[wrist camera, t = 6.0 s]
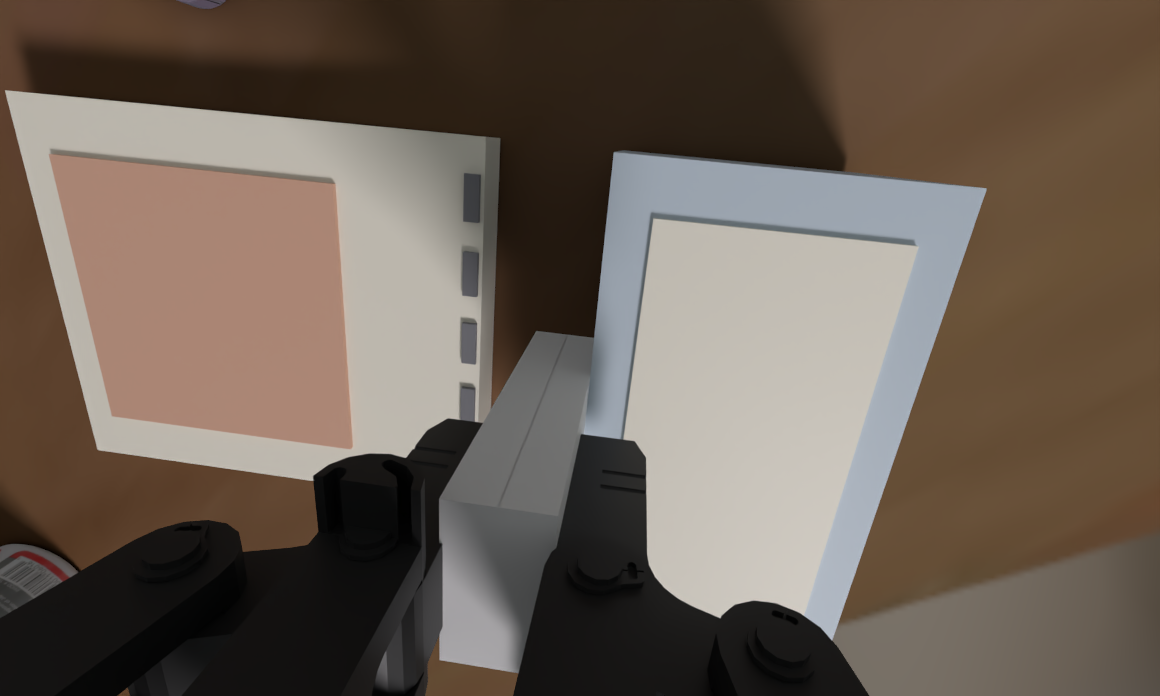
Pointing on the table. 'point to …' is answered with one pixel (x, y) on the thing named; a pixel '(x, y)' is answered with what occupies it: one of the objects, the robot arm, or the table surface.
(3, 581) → the pill bottle
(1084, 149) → the table surface
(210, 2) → the smartphone
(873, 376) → the blue framed panel box
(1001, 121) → the table surface
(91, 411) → the board
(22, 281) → the table surface
